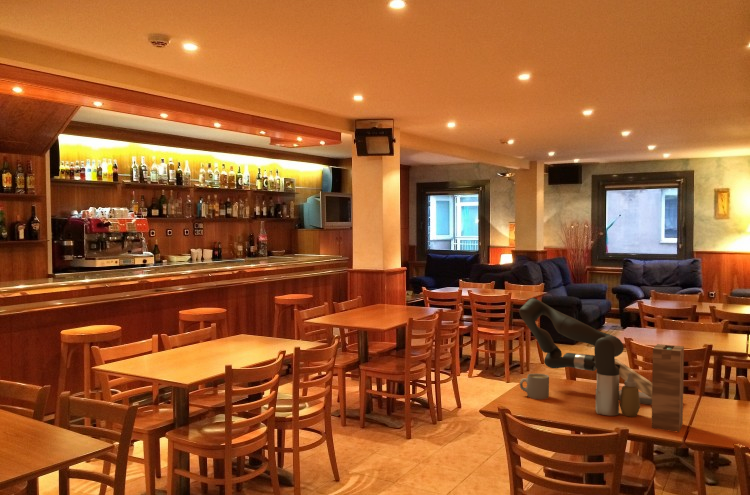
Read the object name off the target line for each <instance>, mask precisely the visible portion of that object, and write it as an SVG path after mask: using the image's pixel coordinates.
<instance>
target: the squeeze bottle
mask: <svg viewBox="0 0 750 495" xmlns="http://www.w3.org/2000/svg"><path fill="white" fill-rule="evenodd" d="M623 383H624V384H623V386H622V387H621V390H622V392H621V400H619V409H620V411H621V414H622V415H623V416H626V417H637V416H638V414H639V412H640V409H641V403H640V402H639V392H640V390H639V389H638V388H637V387H635V386H636V382H634V381H633V377H632V373H629V375H628V379H627V381H626V380H624V382H623Z"/></svg>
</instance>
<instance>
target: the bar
mask: <svg viewBox="0 0 750 495" xmlns="http://www.w3.org/2000/svg"><path fill="white" fill-rule="evenodd" d="M615 364H618V365H620V369H619V378H621V379H623V380H624V381H627V379H628V375H629V373H632V377H633V381H634V382H636V386H635V387H637V388H638V391H639V392H643V393H645V394H646V395H648V396H649V397H651V398H652V382H651V381H650V380H649V379H647V378H646V377H644V376H643V375H641V374H640V373H638V372H636V371H635V370H634V369H632V368H631V367H629V366H628V365H626V364H624V363H623V362H622V361H620V360H619V359H617V358H615Z"/></svg>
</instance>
